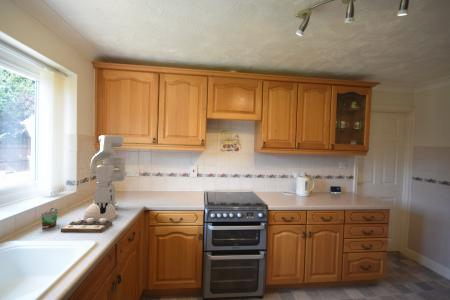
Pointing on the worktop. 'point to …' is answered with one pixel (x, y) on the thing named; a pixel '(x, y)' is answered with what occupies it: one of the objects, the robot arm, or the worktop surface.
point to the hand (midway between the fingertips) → (102, 213)
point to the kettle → (94, 212)
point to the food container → (49, 218)
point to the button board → (83, 222)
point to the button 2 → (102, 220)
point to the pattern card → (83, 227)
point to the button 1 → (77, 221)
